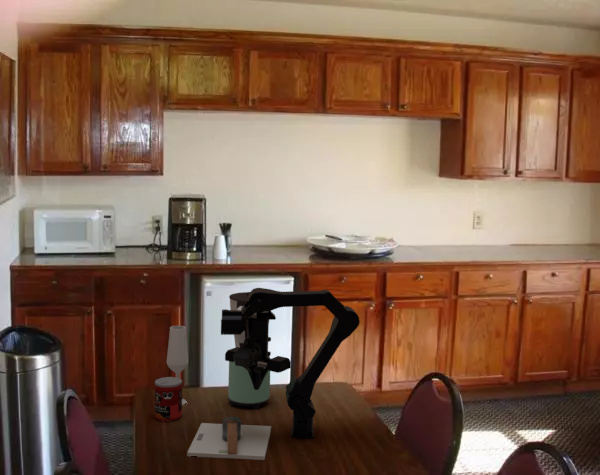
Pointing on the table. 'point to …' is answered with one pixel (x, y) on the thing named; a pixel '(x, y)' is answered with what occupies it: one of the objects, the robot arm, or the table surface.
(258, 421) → the table surface
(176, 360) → the champagne flute
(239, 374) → the juicer
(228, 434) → the lever
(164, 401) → the canned food
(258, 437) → the base plate
